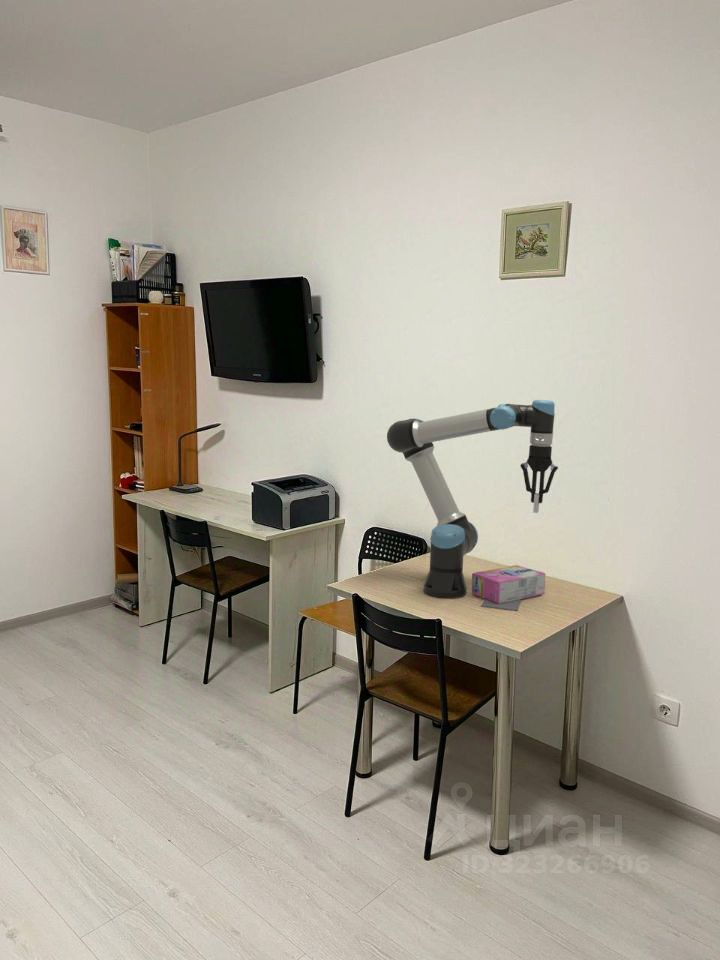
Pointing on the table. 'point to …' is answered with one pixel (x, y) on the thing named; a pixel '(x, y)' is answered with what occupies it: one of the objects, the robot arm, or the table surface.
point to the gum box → (508, 584)
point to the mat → (502, 605)
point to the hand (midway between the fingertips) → (535, 511)
